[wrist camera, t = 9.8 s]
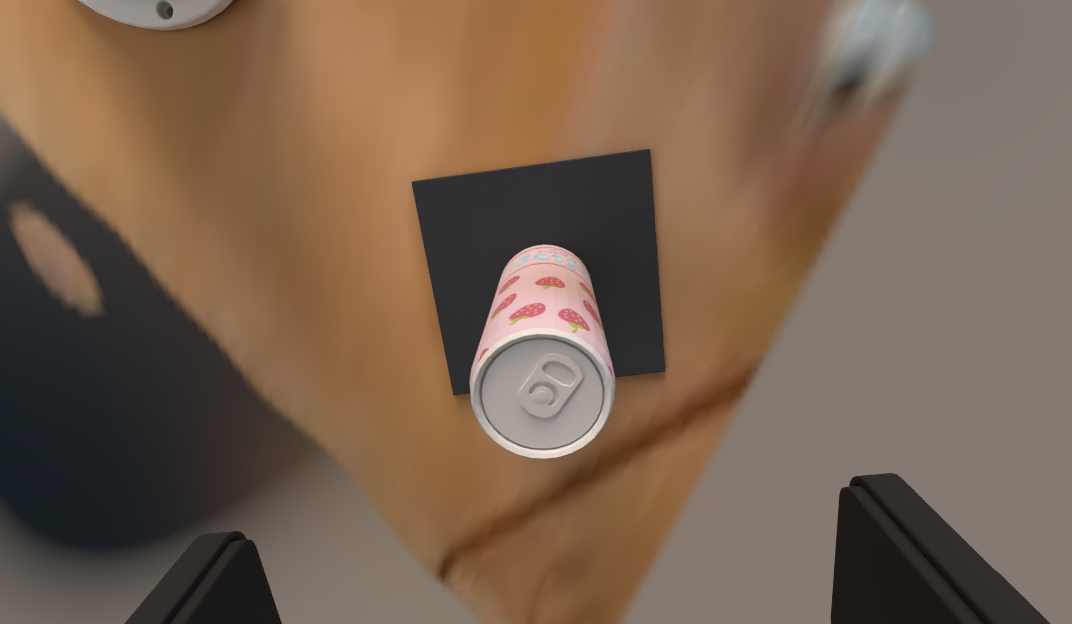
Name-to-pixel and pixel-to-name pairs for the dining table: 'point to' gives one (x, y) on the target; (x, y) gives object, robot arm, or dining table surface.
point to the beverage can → (543, 358)
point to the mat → (546, 219)
